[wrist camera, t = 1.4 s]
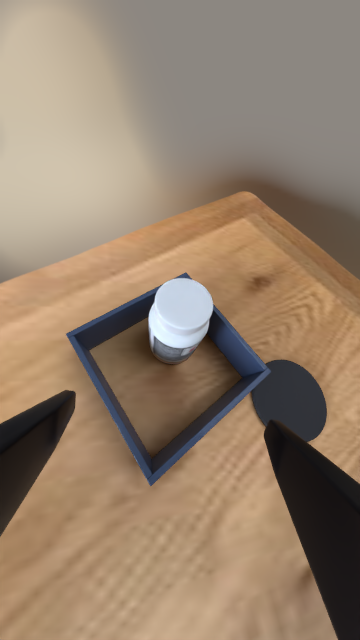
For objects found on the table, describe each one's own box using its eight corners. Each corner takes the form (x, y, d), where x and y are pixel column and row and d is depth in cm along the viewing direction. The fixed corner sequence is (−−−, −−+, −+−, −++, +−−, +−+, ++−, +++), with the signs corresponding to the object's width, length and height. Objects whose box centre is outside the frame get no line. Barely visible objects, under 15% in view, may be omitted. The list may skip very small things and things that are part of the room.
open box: (247, 378, 23) (271, 371, 19) (150, 467, 18) (150, 486, 14) (179, 295, 27) (186, 272, 22) (82, 349, 22) (65, 333, 17)
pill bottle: (203, 346, 24) (235, 309, 15) (167, 375, 22) (180, 351, 13) (175, 313, 25) (189, 262, 17) (139, 337, 23) (133, 293, 14)
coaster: (336, 406, 23) (340, 406, 23) (293, 462, 20) (297, 463, 20) (282, 347, 26) (285, 346, 25) (236, 389, 22) (238, 388, 22)
